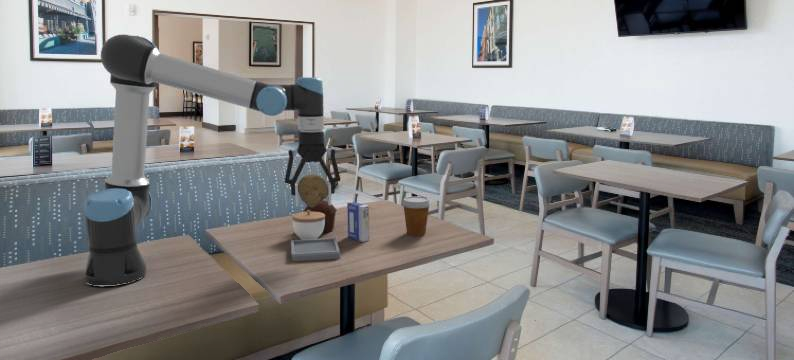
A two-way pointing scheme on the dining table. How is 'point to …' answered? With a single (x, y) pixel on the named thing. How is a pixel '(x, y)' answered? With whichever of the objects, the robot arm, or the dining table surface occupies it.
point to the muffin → (329, 214)
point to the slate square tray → (315, 249)
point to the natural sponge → (312, 189)
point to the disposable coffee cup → (416, 214)
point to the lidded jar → (308, 224)
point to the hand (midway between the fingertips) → (313, 204)
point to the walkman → (358, 221)
